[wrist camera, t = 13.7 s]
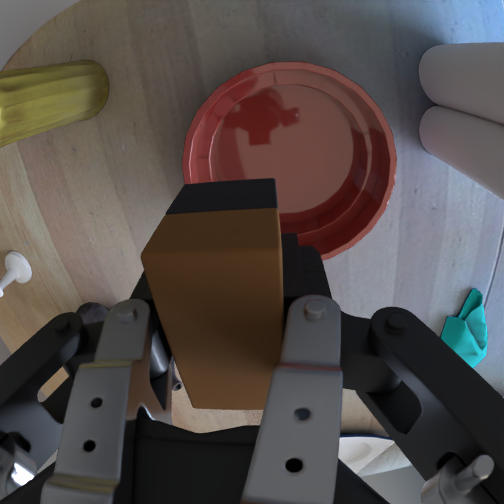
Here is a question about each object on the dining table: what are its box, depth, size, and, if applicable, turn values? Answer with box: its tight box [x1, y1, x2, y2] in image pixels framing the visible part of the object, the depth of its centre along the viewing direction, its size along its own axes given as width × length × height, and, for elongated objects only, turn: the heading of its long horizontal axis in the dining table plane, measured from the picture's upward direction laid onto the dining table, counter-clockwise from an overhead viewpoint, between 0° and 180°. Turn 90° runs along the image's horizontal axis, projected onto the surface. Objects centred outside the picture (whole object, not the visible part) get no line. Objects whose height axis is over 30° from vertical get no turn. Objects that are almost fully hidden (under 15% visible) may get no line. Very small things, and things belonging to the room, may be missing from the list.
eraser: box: [141, 178, 284, 410], centre depth 10 cm, size 6×3×4 cm, turn 4°
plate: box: [338, 434, 395, 473], centre depth 56 cm, size 20×20×3 cm
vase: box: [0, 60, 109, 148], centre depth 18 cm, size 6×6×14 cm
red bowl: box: [182, 62, 397, 260], centre depth 25 cm, size 16×16×6 cm
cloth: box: [441, 288, 488, 368], centre depth 40 cm, size 26×14×2 cm, turn 172°
